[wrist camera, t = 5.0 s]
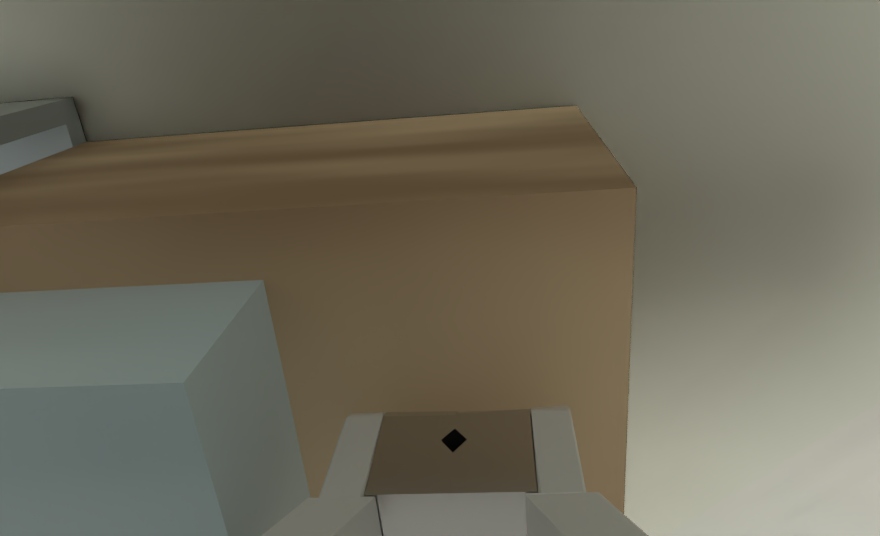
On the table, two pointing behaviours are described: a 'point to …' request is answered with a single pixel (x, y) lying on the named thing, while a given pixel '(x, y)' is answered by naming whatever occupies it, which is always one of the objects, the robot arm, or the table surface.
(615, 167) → the wooden block
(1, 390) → the tile blue
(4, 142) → the tray
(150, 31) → the table surface
